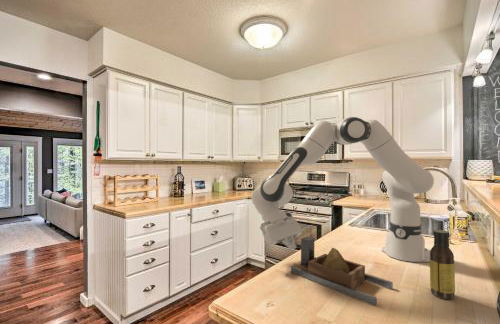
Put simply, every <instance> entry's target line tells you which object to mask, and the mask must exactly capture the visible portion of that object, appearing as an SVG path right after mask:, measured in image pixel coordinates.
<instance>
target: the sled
mask: <svg viewBox="0 0 500 324" xmlns="http://www.w3.org/2000/svg"><path fill="white" fill-rule="evenodd" d="M327 255H328V254H327V253H323V254H321V255H320V256H319V255H318V256H317V257H316V258H315V259H314V257H315V238H313V237H309V236H304V237H301V238H300V264H299V267H298V268H300V269H302V270H305V271H308V272H310V273H313V274H316V275H318V276H321V277H324V278H326V279H329V280H332V281H334V282H337V283H340V284H343V285H345V286H348V287H351V288H353V289H356V288H357V287H358V286H359V285H360V284H362V283H363V282H365V273H366V269H365V268H366V265H363V264H361V263H357V262H353V261H350V260H347V259H345V261H346V263H347V265H348V267H349V269H350V273H345V272H342V271H339V270H336V269H333V268H330V267H327V266H324V265H322V264H323V263H324V261H325V259H326V257H327Z"/></svg>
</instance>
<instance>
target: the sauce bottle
mask: <svg viewBox="0 0 500 324" xmlns="http://www.w3.org/2000/svg"><path fill="white" fill-rule="evenodd" d="M432 233H433V239H434V240H433V245H432V247H431V248H430V249H429V250H430V262H429V286H430V292H431V294H432V295H433V296H435V297H437V298H439V299H442V300H443V299H444V300H452V299H454V298H455V292H456V286H455V285H456V282H455V281H456V280H455V279H456V276H455V273H456V272H455V271H456V270H455V256H454V252H453V251H452V249H451V248H450V242H449V239H450V232H449V231H447V230H445V229H444V230H443V229H434V230H433V232H432Z"/></svg>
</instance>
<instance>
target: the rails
mask: <svg viewBox="0 0 500 324" xmlns="http://www.w3.org/2000/svg"><path fill="white" fill-rule="evenodd" d="M315 258H317V257H315V256H314V259H315ZM290 273H292V274H294V275H297V276H299V277H302V278H304V279H307V280H309V281H312V282H314V283H316V284H320V285H322V286H325V287H326V288H329V289H332V290H335V291H337V292H340V293H342V294H344V295H347V296H350V297H352V298H355V299H357V300H360V301H362V302H365V303H367V304H370V305H372V306H377V304H378V297H377V296H374V295H372V294H369V293H367V292H363V291H361V290H359V289H356V288H354V289H353V288H351V287H348V286H345V285H343V284H340V283H337V282H334V281H332V280H329V279H326V278H324V277H321V276H318V275H316V274H313V273H310V272H308V271H306V270H304V269H301V268H299V267H297V266H294V265H292V266H291V267H290ZM364 282H369V283H372V284H374V285H377V286H380V287H383V288H387V289H389V290H393V287H394V285H393V284H394V282H393V281H391V280H388V279H384V278H381V277H378V276H375V275H372V274H370V273H366V272H365V280H364Z"/></svg>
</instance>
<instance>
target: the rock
mask: <svg viewBox="0 0 500 324" xmlns="http://www.w3.org/2000/svg"><path fill="white" fill-rule="evenodd" d="M345 260H346V259H345V258H344V257H343V256H342V254H341V253H340V251H339V250H337V249H336V248H335V247H331V249H330V250H329V252H328V254H327V257H326V259H325V261H324V263H323V264H322V265H324V266H327V267H330V268H333V269H336V270H339V271H342V272H345V273H350V269H349V267H348V265H347V263H346V261H345Z"/></svg>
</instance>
